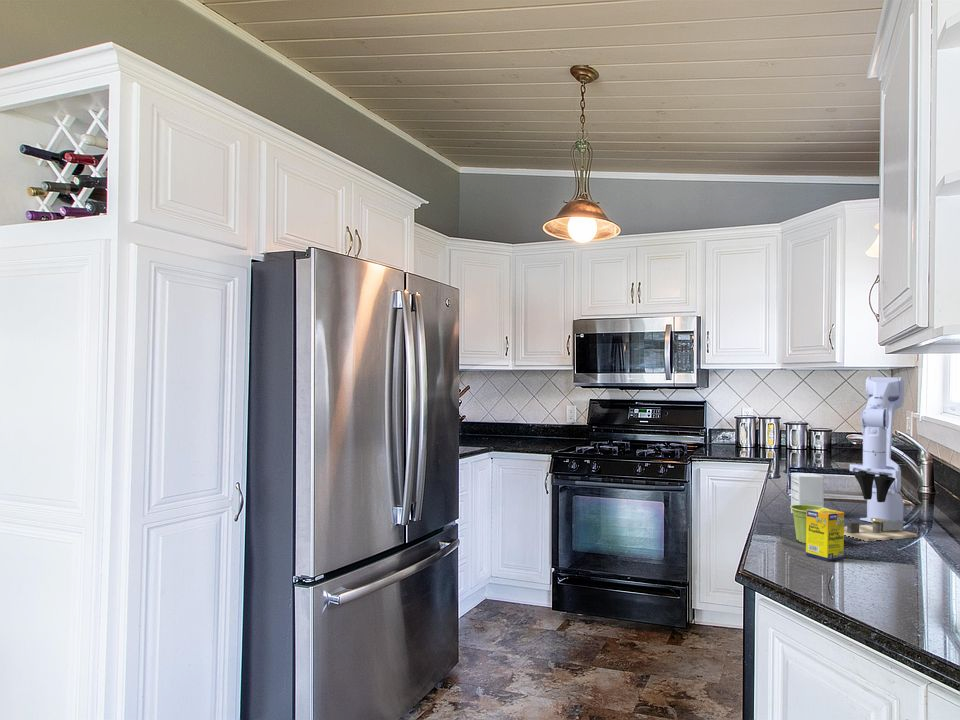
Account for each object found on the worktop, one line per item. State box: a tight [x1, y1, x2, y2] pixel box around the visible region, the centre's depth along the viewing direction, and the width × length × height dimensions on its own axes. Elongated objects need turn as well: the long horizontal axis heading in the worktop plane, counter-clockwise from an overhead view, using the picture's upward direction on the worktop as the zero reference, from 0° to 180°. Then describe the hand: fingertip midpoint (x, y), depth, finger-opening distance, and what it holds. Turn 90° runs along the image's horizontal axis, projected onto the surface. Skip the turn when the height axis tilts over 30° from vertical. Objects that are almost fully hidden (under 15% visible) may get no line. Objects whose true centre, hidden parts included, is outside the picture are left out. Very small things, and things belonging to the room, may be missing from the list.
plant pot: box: [790, 505, 829, 544], centre depth 179 cm, size 9×9×9 cm
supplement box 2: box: [805, 507, 845, 562], centre depth 164 cm, size 6×6×11 cm
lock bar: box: [871, 518, 904, 531], centre depth 190 cm, size 10×3×3 cm, turn 111°
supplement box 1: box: [790, 472, 825, 514], centre depth 214 cm, size 7×7×13 cm
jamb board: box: [844, 521, 918, 542], centre depth 190 cm, size 18×13×4 cm
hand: (874, 500), depth 194 cm, fingers open, 4 cm apart
